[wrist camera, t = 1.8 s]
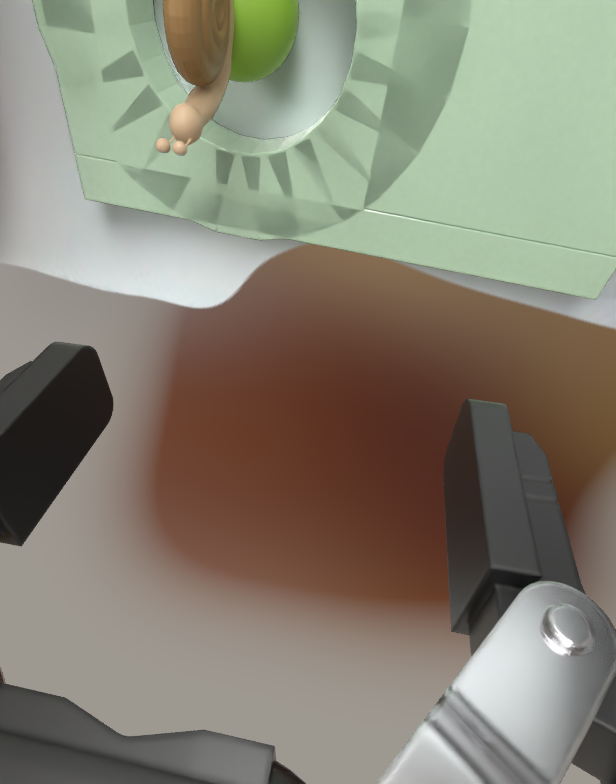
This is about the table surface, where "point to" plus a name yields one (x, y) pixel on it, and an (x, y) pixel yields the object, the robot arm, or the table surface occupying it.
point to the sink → (378, 138)
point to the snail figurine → (222, 53)
